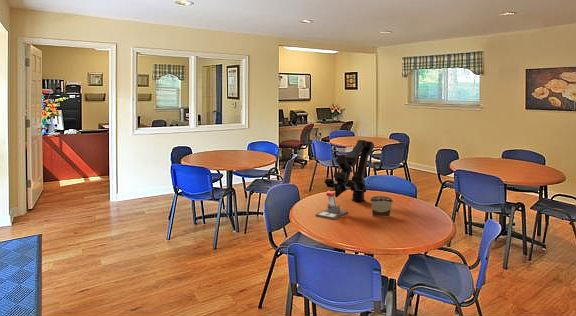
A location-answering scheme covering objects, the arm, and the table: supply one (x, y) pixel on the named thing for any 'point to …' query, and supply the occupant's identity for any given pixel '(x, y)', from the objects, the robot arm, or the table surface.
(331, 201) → the lever
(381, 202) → the food container
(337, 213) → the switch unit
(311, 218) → the table surface
